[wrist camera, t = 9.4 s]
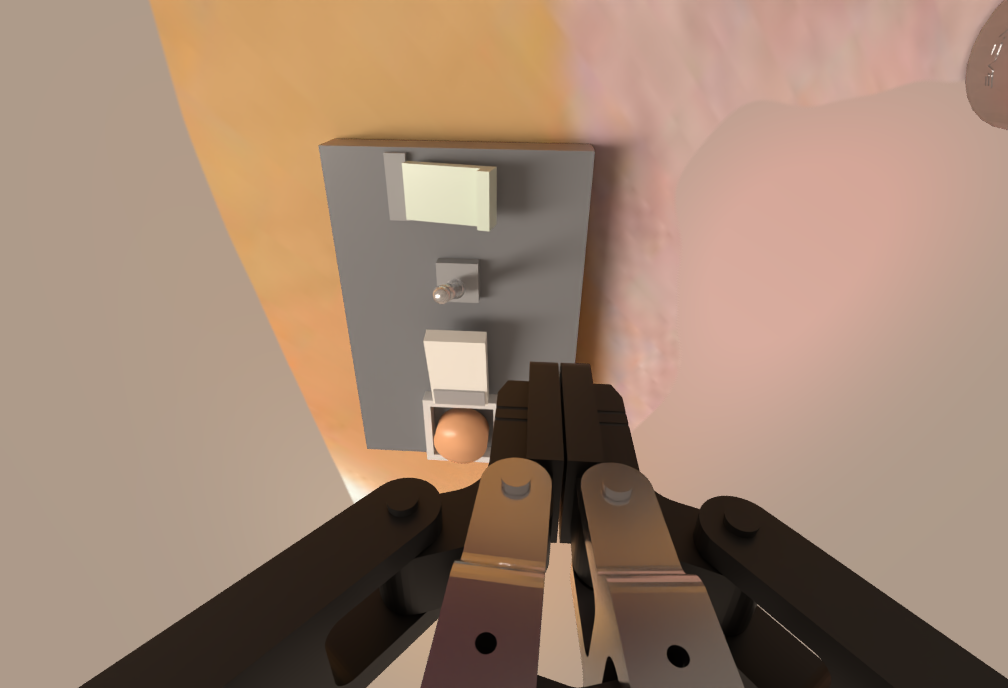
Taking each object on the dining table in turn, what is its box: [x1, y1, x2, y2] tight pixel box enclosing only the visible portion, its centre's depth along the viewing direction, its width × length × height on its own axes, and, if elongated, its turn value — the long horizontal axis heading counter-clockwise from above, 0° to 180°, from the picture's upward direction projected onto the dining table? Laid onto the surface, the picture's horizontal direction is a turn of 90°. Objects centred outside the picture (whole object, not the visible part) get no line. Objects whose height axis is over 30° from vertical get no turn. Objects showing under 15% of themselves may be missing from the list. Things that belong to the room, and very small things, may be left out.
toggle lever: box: [433, 279, 466, 304], centre depth 33 cm, size 1×1×7 cm
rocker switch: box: [423, 329, 489, 406], centre depth 39 cm, size 4×7×1 cm, turn 179°
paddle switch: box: [402, 161, 497, 231], centre depth 32 cm, size 6×4×2 cm, turn 89°
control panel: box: [319, 139, 595, 463], centre depth 40 cm, size 18×26×4 cm
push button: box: [434, 408, 489, 463], centre depth 43 cm, size 4×4×2 cm
